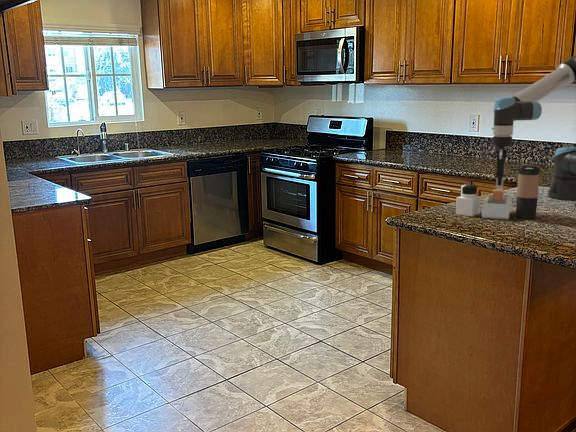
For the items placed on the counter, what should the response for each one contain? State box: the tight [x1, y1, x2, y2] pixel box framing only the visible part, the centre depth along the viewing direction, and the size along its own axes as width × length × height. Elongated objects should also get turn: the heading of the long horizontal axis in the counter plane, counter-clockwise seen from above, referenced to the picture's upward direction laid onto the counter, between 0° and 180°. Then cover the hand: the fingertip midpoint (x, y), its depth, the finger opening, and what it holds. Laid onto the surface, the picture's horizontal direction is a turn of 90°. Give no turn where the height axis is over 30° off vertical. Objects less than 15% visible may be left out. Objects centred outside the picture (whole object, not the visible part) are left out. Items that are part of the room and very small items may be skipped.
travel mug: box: [515, 165, 540, 221], centre depth 221 cm, size 8×8×20 cm
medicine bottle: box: [455, 184, 481, 217], centre depth 231 cm, size 7×7×12 cm
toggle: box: [492, 188, 505, 200], centre depth 230 cm, size 4×3×4 cm
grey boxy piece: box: [481, 194, 512, 220], centre depth 229 cm, size 10×14×7 cm
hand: (499, 192), depth 237 cm, fingers closed
